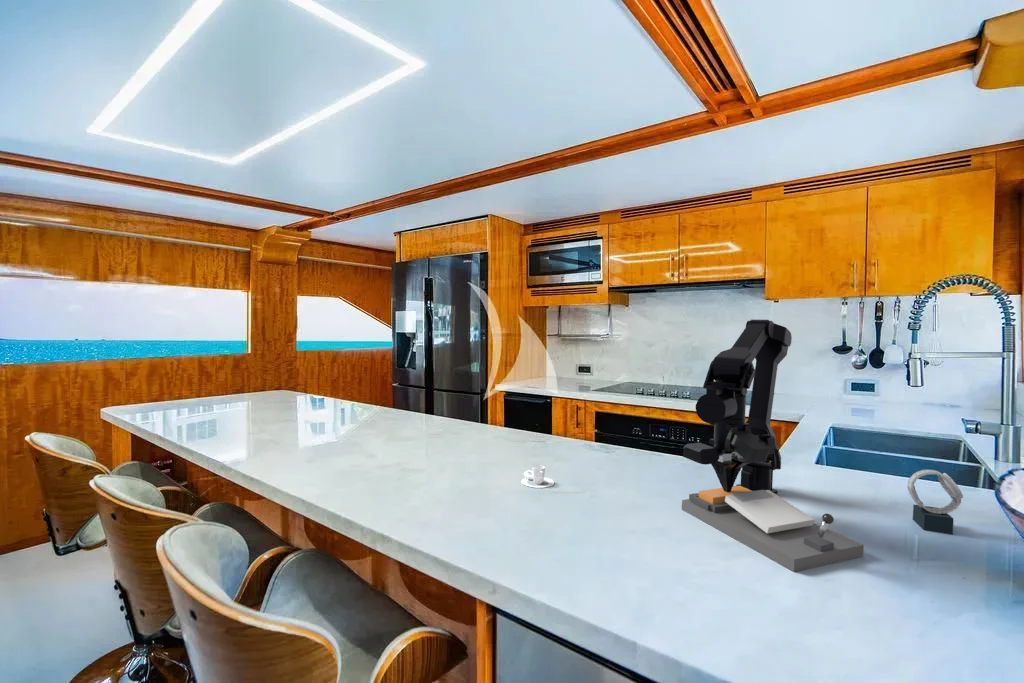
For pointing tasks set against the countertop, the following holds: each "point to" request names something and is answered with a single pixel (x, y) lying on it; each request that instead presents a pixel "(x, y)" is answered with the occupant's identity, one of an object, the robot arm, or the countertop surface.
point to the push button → (720, 494)
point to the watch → (934, 516)
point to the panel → (776, 537)
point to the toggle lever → (825, 524)
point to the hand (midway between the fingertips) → (727, 491)
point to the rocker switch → (768, 511)
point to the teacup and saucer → (536, 477)
